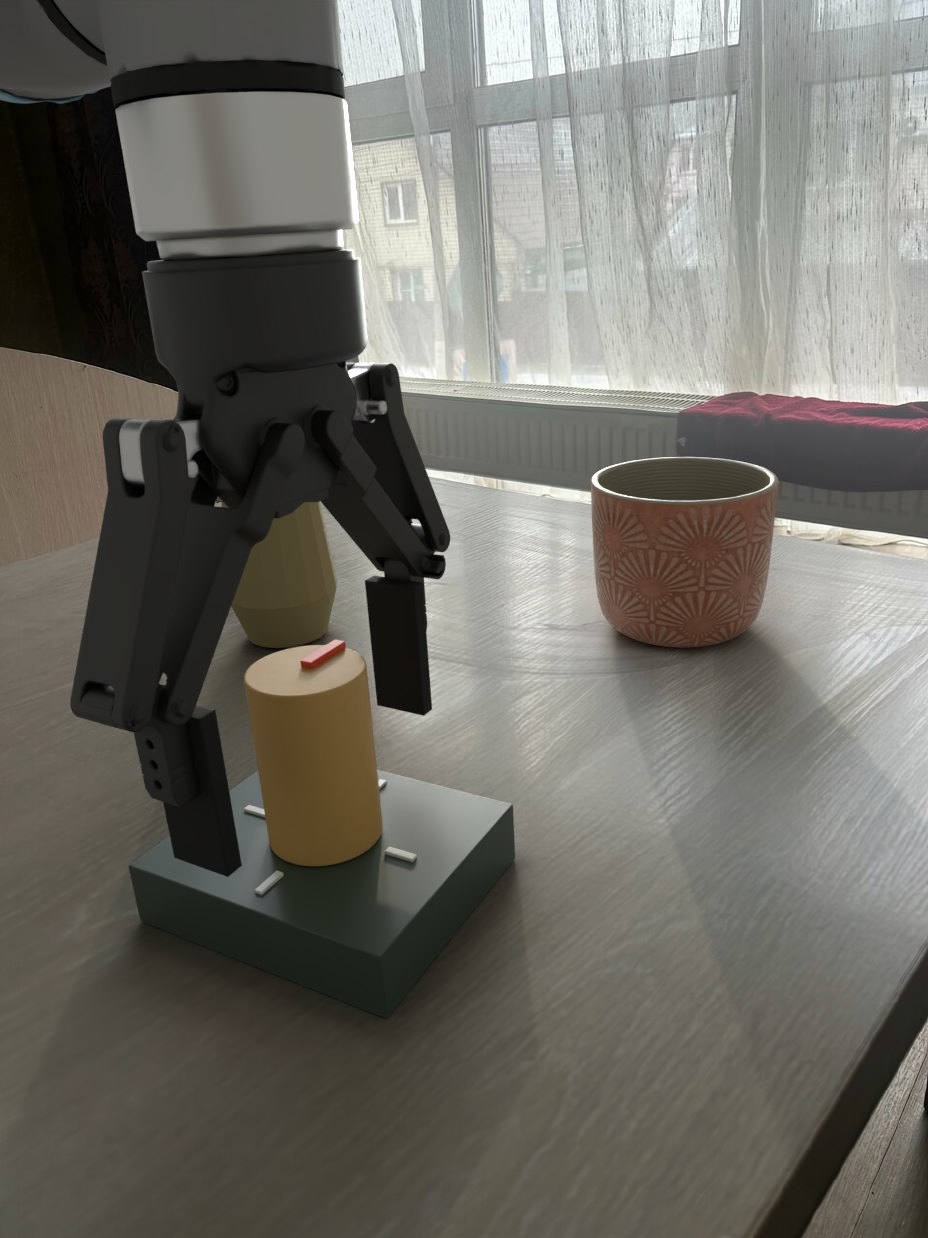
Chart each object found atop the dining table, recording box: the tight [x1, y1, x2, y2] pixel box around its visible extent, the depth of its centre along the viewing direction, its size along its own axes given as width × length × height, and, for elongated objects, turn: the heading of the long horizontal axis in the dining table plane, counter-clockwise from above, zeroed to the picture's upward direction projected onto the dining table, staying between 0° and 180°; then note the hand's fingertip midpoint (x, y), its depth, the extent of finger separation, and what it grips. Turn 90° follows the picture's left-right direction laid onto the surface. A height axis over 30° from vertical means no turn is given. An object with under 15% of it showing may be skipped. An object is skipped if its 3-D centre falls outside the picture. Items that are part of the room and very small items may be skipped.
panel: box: [127, 769, 516, 1019], centre depth 43 cm, size 13×11×3 cm
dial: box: [243, 638, 383, 866], centre depth 41 cm, size 5×5×8 cm
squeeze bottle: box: [220, 499, 338, 649], centre depth 69 cm, size 8×8×18 cm
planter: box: [590, 456, 779, 649], centre depth 67 cm, size 12×12×11 cm
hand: (319, 775), depth 42 cm, fingers open, 13 cm apart
